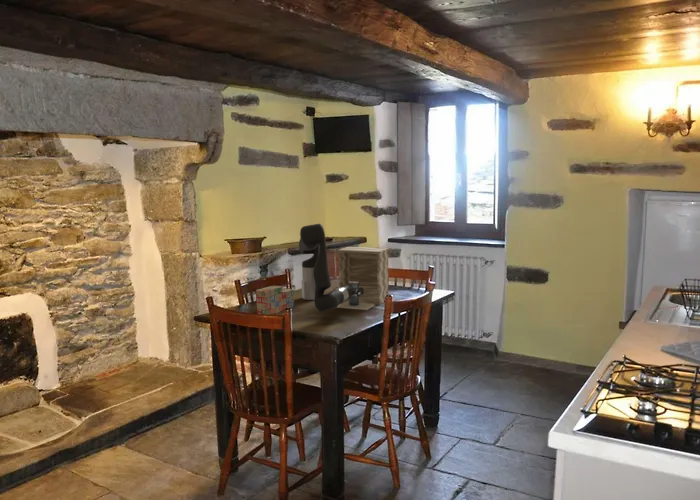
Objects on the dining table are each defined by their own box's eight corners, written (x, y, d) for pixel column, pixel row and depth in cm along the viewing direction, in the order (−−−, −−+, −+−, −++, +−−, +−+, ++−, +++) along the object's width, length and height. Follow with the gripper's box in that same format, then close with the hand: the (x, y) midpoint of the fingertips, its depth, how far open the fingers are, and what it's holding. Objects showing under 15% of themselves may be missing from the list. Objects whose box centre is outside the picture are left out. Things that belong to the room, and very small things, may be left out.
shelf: (380, 305, 288) (379, 251, 284) (338, 301, 296) (337, 250, 293) (389, 299, 301) (389, 248, 298) (349, 296, 310) (348, 246, 307)
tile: (366, 309, 277) (366, 308, 277) (333, 307, 284) (333, 305, 284) (374, 305, 288) (374, 303, 287) (341, 302, 294) (341, 301, 294)
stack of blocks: (284, 306, 289) (283, 282, 287) (294, 307, 285) (293, 283, 284) (256, 315, 270) (255, 289, 269) (267, 316, 267) (266, 290, 266)
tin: (350, 306, 283) (350, 282, 281) (347, 303, 287) (347, 280, 286) (360, 305, 284) (360, 281, 283) (357, 303, 289) (357, 279, 287)
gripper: (354, 288, 267) (367, 282, 282) (327, 286, 272) (340, 280, 287) (355, 303, 268) (367, 297, 282) (327, 301, 273) (340, 295, 288)
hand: (353, 288), depth 285 cm, fingers open, 8 cm apart
